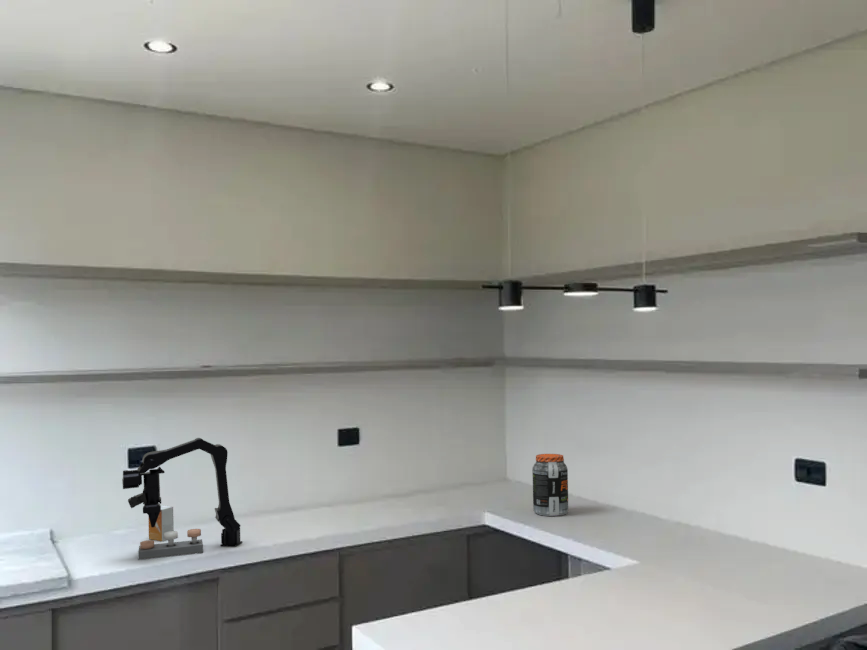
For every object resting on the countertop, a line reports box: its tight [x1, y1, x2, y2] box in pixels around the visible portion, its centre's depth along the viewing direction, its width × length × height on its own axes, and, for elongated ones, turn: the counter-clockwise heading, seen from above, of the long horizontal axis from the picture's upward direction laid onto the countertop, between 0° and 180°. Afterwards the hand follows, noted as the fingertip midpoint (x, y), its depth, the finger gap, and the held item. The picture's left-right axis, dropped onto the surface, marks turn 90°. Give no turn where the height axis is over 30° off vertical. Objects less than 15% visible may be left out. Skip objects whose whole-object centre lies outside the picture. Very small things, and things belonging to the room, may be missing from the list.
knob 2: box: [186, 528, 202, 544], centre depth 292 cm, size 5×5×5 cm
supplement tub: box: [532, 453, 569, 517], centre depth 341 cm, size 16×16×26 cm
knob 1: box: [139, 539, 155, 549], centre depth 287 cm, size 5×5×5 cm
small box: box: [148, 504, 175, 542], centre depth 312 cm, size 8×6×13 cm
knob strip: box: [137, 539, 204, 561], centre depth 290 cm, size 23×9×3 cm, turn 109°
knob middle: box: [164, 530, 179, 547], centre depth 290 cm, size 5×5×5 cm
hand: (153, 527), depth 288 cm, fingers closed
